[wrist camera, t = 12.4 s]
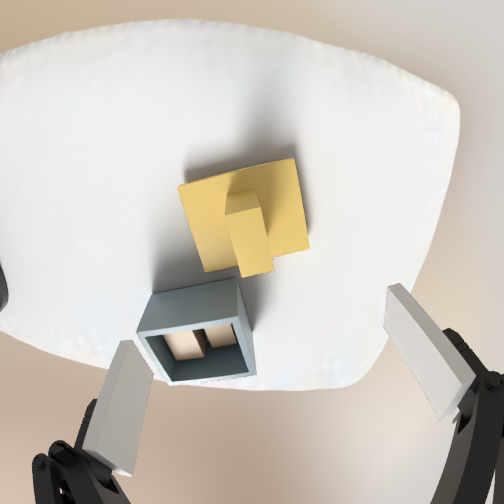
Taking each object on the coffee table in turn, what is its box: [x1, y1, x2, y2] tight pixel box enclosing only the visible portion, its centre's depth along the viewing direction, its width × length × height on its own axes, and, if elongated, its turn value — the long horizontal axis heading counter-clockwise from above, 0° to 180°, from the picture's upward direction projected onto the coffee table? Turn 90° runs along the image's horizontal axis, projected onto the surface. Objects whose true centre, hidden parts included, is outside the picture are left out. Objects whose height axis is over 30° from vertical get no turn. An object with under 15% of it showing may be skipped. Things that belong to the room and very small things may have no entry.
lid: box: [177, 158, 310, 278], centre depth 27 cm, size 13×11×9 cm
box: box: [136, 277, 257, 386], centre depth 34 cm, size 12×10×8 cm
